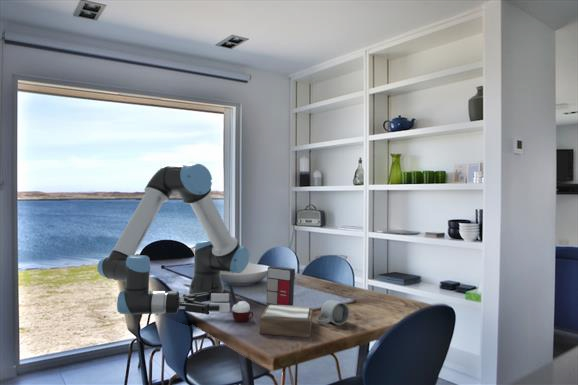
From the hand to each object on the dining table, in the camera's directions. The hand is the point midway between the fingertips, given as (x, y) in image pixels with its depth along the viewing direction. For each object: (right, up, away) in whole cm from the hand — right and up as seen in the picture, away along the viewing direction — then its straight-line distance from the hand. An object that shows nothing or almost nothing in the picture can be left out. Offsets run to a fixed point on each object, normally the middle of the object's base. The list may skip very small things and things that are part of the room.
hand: (229, 302), depth 144 cm
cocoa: (+4, -7, +1) cm, 8 cm away
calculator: (+17, -8, +24) cm, 30 cm away
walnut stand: (+20, -7, -5) cm, 22 cm away
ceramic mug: (+36, -8, +2) cm, 37 cm away
